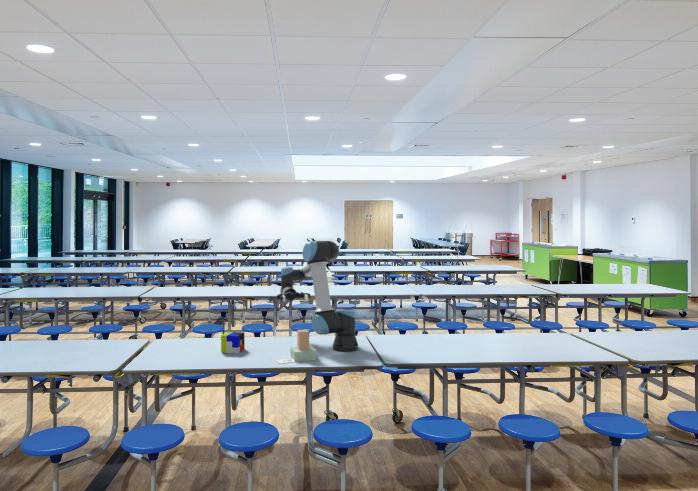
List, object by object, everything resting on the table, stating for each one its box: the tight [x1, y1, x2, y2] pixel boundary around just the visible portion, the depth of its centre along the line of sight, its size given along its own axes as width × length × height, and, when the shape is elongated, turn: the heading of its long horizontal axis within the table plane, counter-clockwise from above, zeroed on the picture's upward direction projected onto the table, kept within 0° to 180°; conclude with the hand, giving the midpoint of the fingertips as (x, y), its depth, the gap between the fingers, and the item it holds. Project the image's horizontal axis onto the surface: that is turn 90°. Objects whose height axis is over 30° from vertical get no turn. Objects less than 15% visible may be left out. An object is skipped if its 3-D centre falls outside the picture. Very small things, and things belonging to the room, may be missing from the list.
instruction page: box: [275, 357, 299, 365], centre depth 277 cm, size 10×7×1 cm
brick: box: [296, 329, 310, 350], centre depth 283 cm, size 6×6×10 cm
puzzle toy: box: [220, 331, 246, 354], centre depth 299 cm, size 10×10×10 cm
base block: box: [290, 345, 317, 362], centre depth 283 cm, size 12×12×5 cm
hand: (296, 298), depth 301 cm, fingers open, 13 cm apart
